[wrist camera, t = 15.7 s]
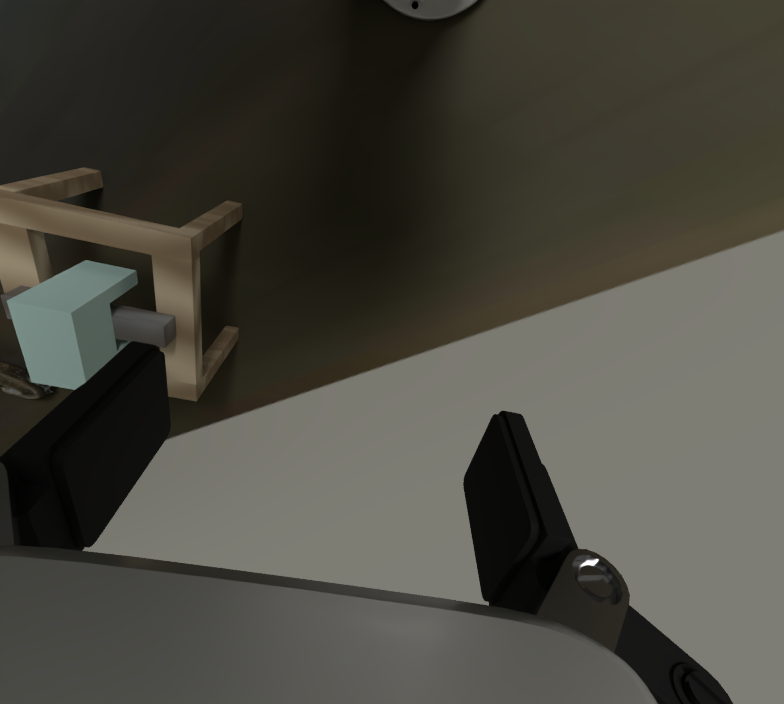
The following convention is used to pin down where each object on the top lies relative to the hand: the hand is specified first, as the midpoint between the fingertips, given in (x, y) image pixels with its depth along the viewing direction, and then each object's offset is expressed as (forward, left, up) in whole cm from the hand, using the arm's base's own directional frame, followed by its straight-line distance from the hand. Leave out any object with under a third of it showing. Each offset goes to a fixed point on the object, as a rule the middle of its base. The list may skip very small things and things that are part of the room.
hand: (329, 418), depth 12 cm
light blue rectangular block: (+12, -20, -23) cm, 33 cm away
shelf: (+12, -20, -33) cm, 41 cm away
